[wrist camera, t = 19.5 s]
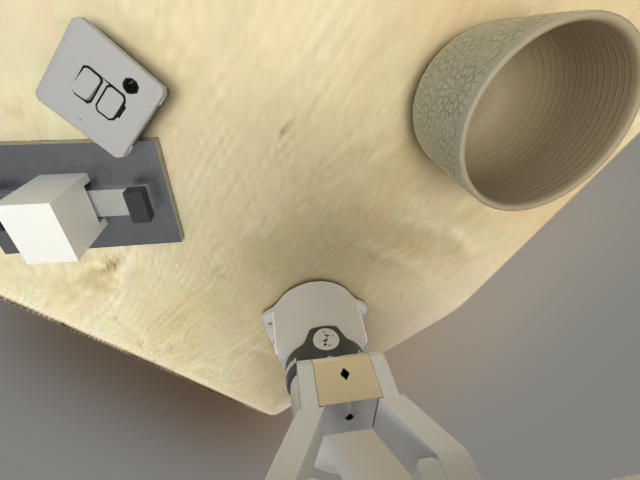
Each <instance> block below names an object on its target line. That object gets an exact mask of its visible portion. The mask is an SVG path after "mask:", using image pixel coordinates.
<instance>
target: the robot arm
mask: <svg viewBox="0 0 640 480" xmlns="http://www.w3.org/2000/svg"><path fill="white" fill-rule="evenodd" d="M366 311H367V307H366V304H365V303H364V302H363V301H361V300H358V299H356V298H354V297H353V296H352V295H351V294H350V293H349V291H348V290H346V289H345V288H344V287H342V286H340V285H338V284H335V283H331V282H325V281H316V282H309V283H305V284H302V285H299V286H297V287H295V288H293V289H291V290H290V291H288V292H287V293H286V294H284V295H283V296H282V297H281V299H280V300H279V301H278V302H277V304H276V305H275V306H274V307H272V308H270V309H268V310H267V311H265V312H264V313H263V314H262V322H263V324H264V327H265V329H266V331H267V334H268V336H269V339H270V341H271V343H272V346H273V348H274V350H275V353H276V355H277V357H278V360H279V362H280V364H281V366H283V367H284V369H285V371H286V373H285V379H286V385H287V389H288V392H289V394H290V395H291V406H292V419H293V421H292V423H291V425H290V427H289V429H288V431H287V433H286V435H285V438H284V440H283V442H282V444H281V446H280V448H279V450H278V453H277V455H276V457H275V459H274V461H273V463H272V465H271V468H270V470H269V472H268V474H267V476H266V478H265V480H319V479H318V478H311V479H309V478H310V475H311V472H312V470H313V467H315V468H318V469H320V470H323V471H327V472H330V473H335V474H340V475H341V478H342V480H481V478H480V475H479V474H478V472H477V469H476V467H475V465H474V463H473V461H472V459H471V457H470V455H469V453H468V451H467V450H466V449H465V448H464V447H463V446H462V445H461V444H460V443H458V442H457V441H456V440H455V439H454V438H453V437H451V435H449V434H448V433H447V432H446V431H444V429H443V428H441V427H440V426H439V425H438V424H437V423H436V422H435V421H433V420H432V419H431V418H430V417H429V416H428V415H427V414H425V413H424V412H423V411H422V410H421V409H420V408H418V406H416V405H415V404H414V403H413V402H412V401H411V400H410V399H408V398H407V397H406V396H405V395H400V394H399V392H398V389H397V386H396V384H395V381H394V379H393V376H392V373H391V371H390V368H389V366H388V363H387V361H386V358H385V355H384V353H383V352H382V351H375V352H368V353H367V352H364V353H363V350H364V349H365V346H366V343H367V342H368V339H367V335H366V331H365V327H364V324H363V319H364V316H365V314H366ZM612 480H640V474H636V475H632V476H626V477H622V478H617V479H612Z"/></svg>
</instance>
